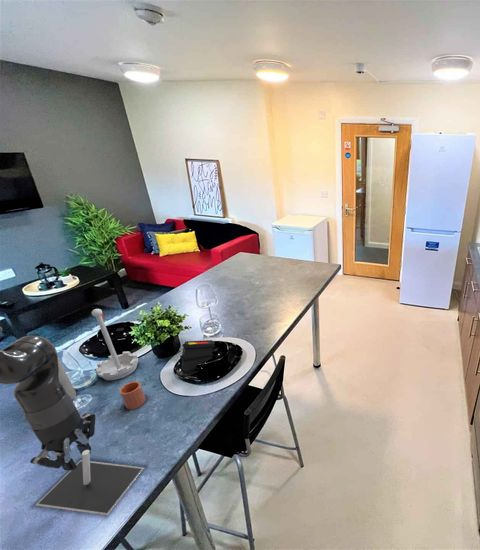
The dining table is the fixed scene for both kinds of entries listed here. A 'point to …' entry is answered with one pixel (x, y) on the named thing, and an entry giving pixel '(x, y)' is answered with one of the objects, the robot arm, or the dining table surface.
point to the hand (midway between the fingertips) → (79, 461)
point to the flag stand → (114, 356)
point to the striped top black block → (195, 355)
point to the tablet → (91, 488)
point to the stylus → (86, 467)
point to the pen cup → (132, 395)
